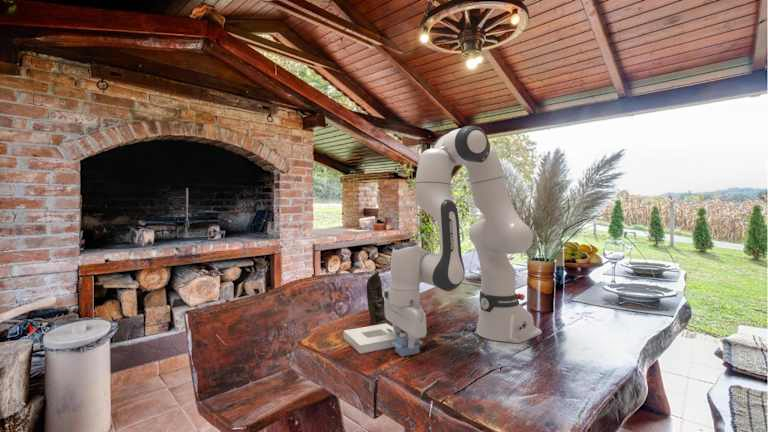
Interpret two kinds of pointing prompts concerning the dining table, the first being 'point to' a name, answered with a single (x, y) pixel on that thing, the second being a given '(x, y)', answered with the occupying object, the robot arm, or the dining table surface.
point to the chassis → (370, 338)
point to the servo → (401, 345)
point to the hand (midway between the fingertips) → (403, 342)
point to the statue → (375, 300)
